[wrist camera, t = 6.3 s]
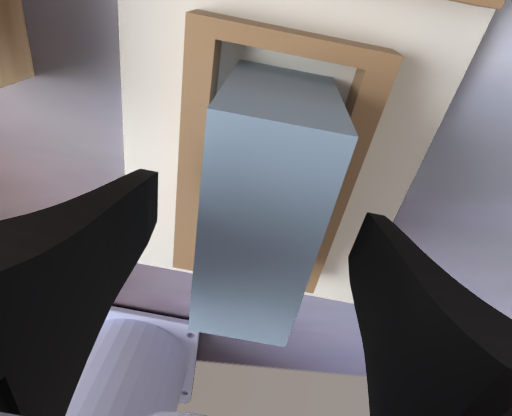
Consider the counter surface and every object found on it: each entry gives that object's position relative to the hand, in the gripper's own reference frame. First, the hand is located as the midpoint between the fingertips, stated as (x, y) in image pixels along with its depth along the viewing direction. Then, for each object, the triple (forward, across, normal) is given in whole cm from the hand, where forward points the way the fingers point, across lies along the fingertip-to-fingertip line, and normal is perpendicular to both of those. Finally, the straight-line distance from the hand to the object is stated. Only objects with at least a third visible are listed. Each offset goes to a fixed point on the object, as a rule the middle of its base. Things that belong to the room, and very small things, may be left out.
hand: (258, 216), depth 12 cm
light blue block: (+4, 0, 0) cm, 4 cm away
